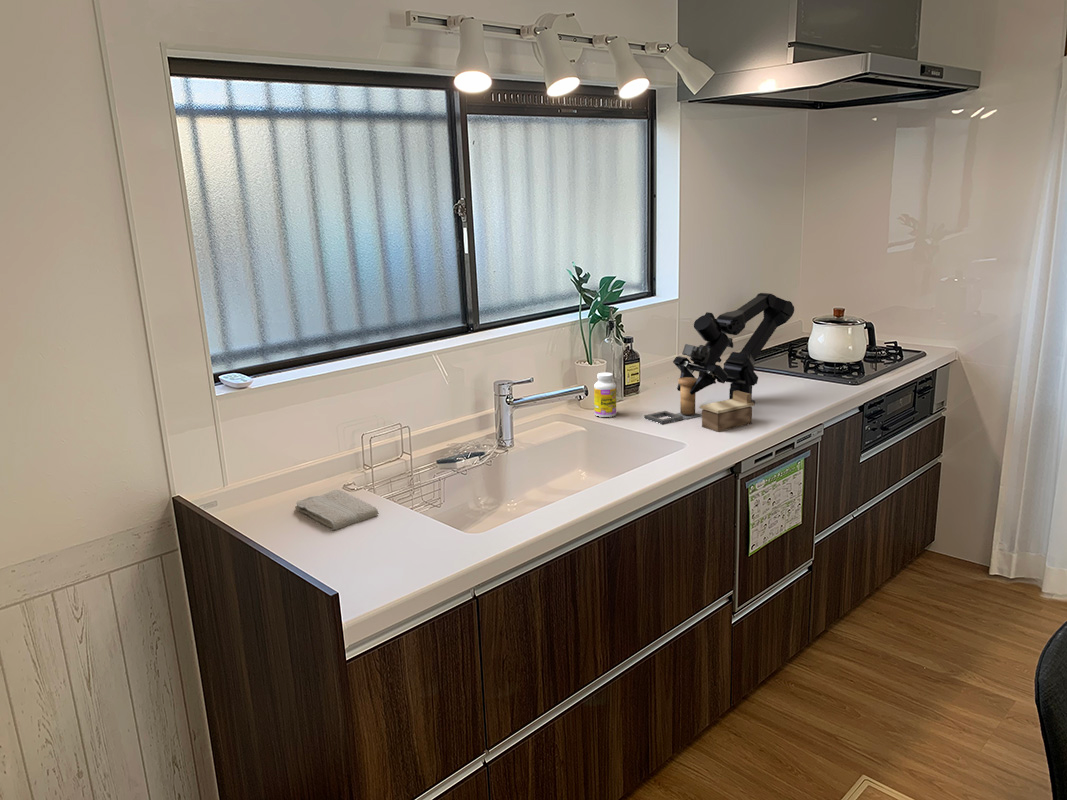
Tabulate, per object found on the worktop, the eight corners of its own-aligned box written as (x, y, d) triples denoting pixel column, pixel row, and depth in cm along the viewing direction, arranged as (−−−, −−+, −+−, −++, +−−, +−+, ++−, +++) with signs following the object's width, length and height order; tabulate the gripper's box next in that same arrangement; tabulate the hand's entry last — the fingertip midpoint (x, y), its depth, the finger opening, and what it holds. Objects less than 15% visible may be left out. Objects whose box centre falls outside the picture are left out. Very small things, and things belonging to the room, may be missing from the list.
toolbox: (735, 418, 243) (736, 402, 241) (751, 423, 237) (752, 406, 236) (701, 426, 236) (702, 409, 235) (717, 431, 231) (717, 414, 230)
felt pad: (688, 411, 252) (688, 410, 252) (702, 416, 247) (702, 415, 247) (673, 415, 249) (673, 414, 249) (686, 419, 244) (686, 418, 244)
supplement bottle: (598, 419, 248) (598, 377, 244) (591, 413, 254) (590, 372, 251) (619, 416, 249) (619, 375, 246) (611, 411, 256) (611, 370, 252)
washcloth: (338, 497, 194) (336, 485, 193) (381, 517, 181) (380, 504, 180) (291, 512, 186) (290, 499, 185) (333, 534, 173) (332, 520, 172)
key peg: (688, 409, 251) (688, 376, 249) (701, 412, 247) (701, 379, 244) (674, 412, 249) (674, 379, 246) (686, 416, 244) (687, 382, 241)
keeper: (665, 413, 251) (665, 410, 250) (682, 419, 244) (682, 416, 244) (644, 418, 247) (644, 415, 246) (661, 424, 240) (661, 421, 240)
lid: (736, 400, 242) (736, 389, 241) (754, 405, 236) (754, 394, 235) (700, 408, 235) (700, 397, 234) (717, 413, 229) (718, 402, 228)
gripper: (677, 329, 251) (649, 370, 249) (720, 338, 236) (690, 381, 233) (697, 351, 257) (669, 392, 255) (740, 361, 242) (711, 404, 239)
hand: (684, 391), depth 245 cm, fingers closed on key peg, 5 cm apart
